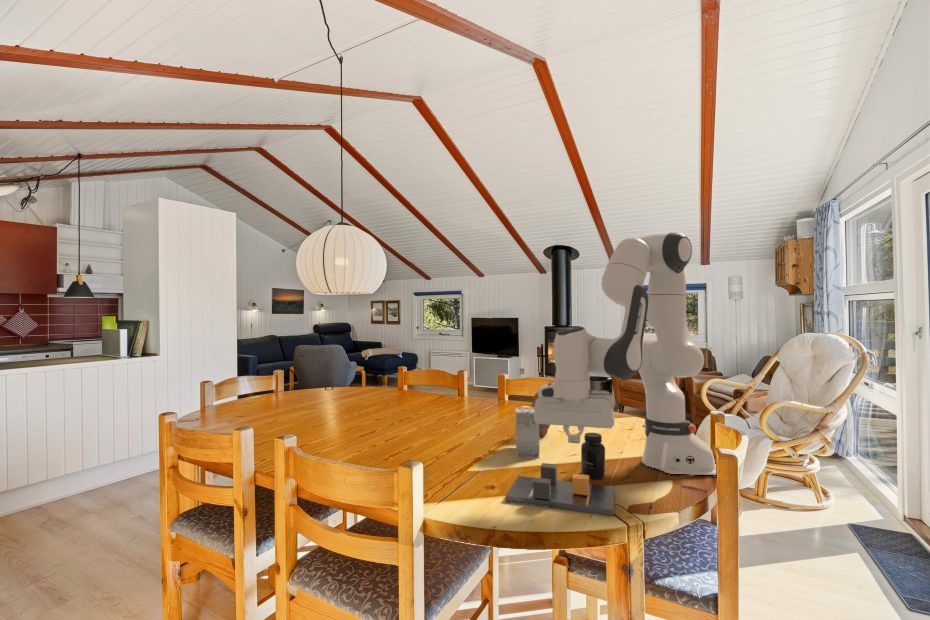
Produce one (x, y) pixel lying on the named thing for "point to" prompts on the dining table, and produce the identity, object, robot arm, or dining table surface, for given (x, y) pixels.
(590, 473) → the supplement bottle
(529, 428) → the circuit breaker
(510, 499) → the panel
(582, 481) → the toggle
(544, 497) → the toggle
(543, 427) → the brown ribbed ovoid
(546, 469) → the toggle
